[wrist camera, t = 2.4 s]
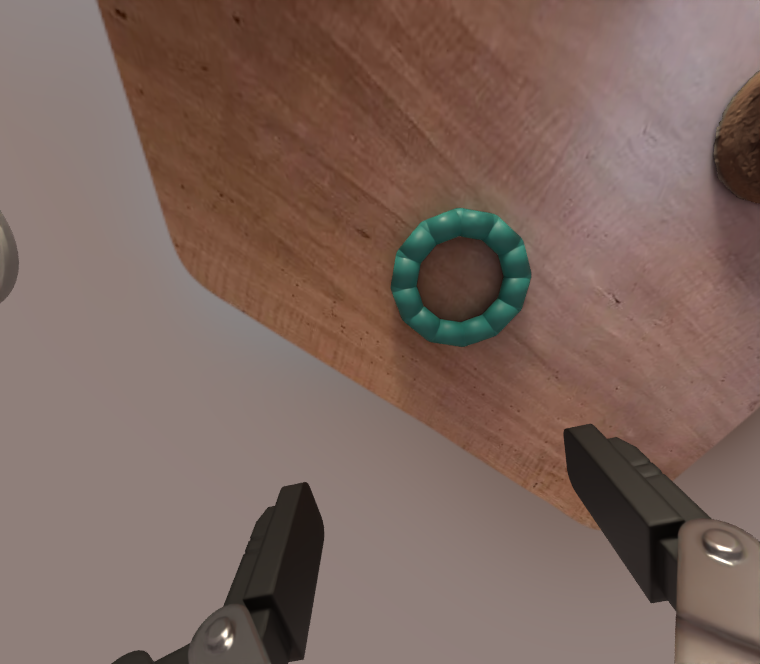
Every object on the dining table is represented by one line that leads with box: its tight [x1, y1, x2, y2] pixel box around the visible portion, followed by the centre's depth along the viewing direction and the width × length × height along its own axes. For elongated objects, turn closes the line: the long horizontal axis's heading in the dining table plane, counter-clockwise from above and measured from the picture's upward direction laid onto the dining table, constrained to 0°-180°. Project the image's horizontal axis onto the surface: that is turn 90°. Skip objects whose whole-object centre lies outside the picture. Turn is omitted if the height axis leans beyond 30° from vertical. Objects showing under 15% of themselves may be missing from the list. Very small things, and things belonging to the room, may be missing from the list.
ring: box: [391, 208, 531, 347], centre depth 26 cm, size 10×10×2 cm
